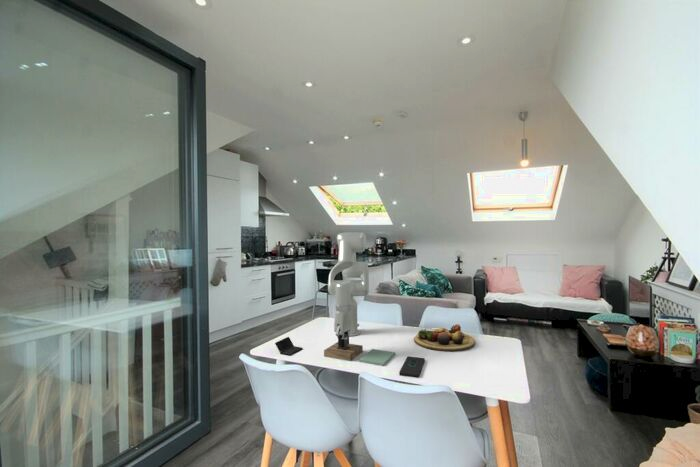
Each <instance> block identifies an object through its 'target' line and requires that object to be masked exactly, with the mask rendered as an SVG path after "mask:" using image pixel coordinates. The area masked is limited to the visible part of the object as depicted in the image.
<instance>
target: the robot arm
mask: <svg viewBox="0 0 700 467" xmlns="http://www.w3.org/2000/svg"><path fill="white" fill-rule="evenodd" d="M336 242H337V246H338V258H337V263H336V264H335V265H334V266H332V268H331V270H330V271H329V274H328V280H327V291H328V293H329V294H330V295H332V296H335V314H334V322H333V328H334V330H333V331H334V332H335V336H336V337H337V342H338V347H343V348H344V334H346V335H348V344H350V337H355V336H358V335H360V334H361V330H359V329H358V328H359V326H360V324H359V323H358V303H357V300H356V299H355V298H354V297H367V296H369V293H370V274H369V272H370V271H369V265H368V263H367V262H365V261H357V253H363V252H365V250H366V246H367V235H366V234H365V232H361V231H360V232H359V231H358V232H350V231H348V232H346V231H345V232H340V233H338V234H337V235H336ZM340 272H341V274H342V277H345V278H348V279H345V280H343V279H342V280H341V279H339V280H336V279H335V277H336V275H338V274H339V273H340ZM349 278H352V279H349ZM355 278H356V279H355ZM358 278H359V279H358Z"/></svg>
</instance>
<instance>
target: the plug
mask: <svg viewBox="0 0 700 467" xmlns="http://www.w3.org/2000/svg"><path fill="white" fill-rule="evenodd" d="M340 349H342V350H347V349H348V335H346V334H344V348H343V347H340Z"/></svg>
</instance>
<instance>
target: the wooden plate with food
mask: <svg viewBox="0 0 700 467" xmlns="http://www.w3.org/2000/svg"><path fill="white" fill-rule="evenodd" d="M451 326H452V327H450V329H447V328H445V327H439V328H436V329H433V330H427V328H425V329H420V330H419V331H418V332H417V333H416V334H415V336H414V338H413V341H414V343H415V344H416V346H417V345H418V346H420V347H421V348H424V349H427V350H430V351H435V352H436V351H437V352H448V353H449V352H450V353H451V352H452V353H454V352H463V351H466V350H471V349H472V348H474V347H475V345H476V339H475V338H474V337H473V336H471V335H469V334H467V333H464V332H462V331H461V330H462V329H461V328H462V327H461V326H460V324H458V323H457V324H455V325H451Z"/></svg>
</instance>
